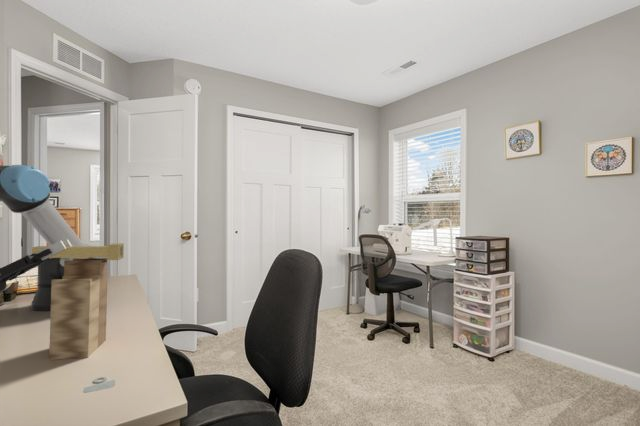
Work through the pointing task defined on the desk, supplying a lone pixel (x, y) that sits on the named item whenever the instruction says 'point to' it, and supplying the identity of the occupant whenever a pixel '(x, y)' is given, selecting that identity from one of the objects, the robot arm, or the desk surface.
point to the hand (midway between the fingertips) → (66, 244)
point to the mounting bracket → (100, 385)
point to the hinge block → (79, 309)
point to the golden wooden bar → (88, 251)
